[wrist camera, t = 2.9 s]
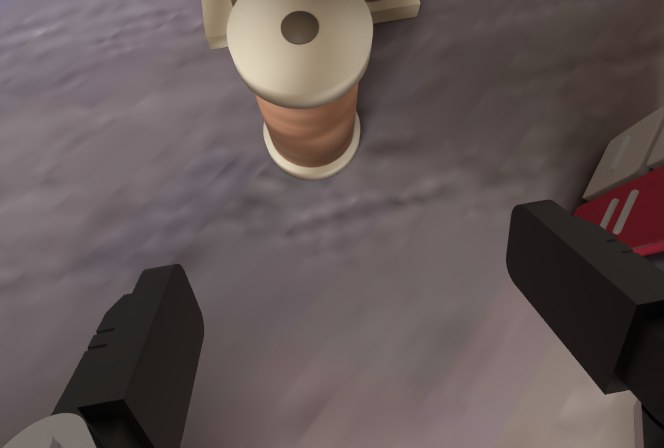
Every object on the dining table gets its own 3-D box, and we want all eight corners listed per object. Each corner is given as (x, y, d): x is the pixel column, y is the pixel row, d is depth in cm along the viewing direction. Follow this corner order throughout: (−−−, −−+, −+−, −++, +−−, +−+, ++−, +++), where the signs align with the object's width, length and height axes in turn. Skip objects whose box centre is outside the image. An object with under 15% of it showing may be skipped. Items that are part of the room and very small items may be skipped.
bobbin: (273, 187, 26) (235, 103, 16) (260, 103, 27) (218, -22, 17) (367, 171, 26) (387, 78, 16) (349, 89, 27) (357, -43, 17)
